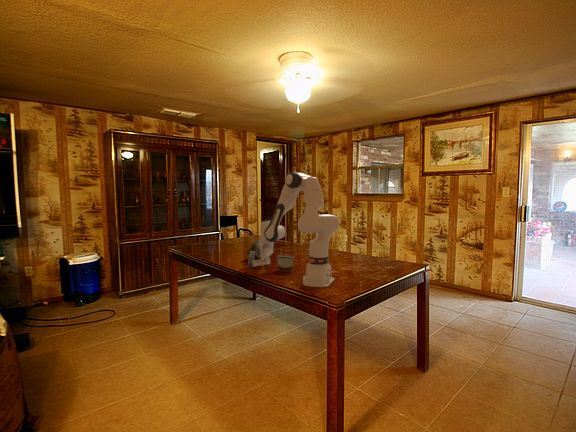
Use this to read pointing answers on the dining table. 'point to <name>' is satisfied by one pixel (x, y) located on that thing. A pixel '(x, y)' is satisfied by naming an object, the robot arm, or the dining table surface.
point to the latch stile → (252, 255)
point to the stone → (256, 248)
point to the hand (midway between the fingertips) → (267, 262)
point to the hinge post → (249, 261)
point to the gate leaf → (259, 262)
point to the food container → (285, 262)
